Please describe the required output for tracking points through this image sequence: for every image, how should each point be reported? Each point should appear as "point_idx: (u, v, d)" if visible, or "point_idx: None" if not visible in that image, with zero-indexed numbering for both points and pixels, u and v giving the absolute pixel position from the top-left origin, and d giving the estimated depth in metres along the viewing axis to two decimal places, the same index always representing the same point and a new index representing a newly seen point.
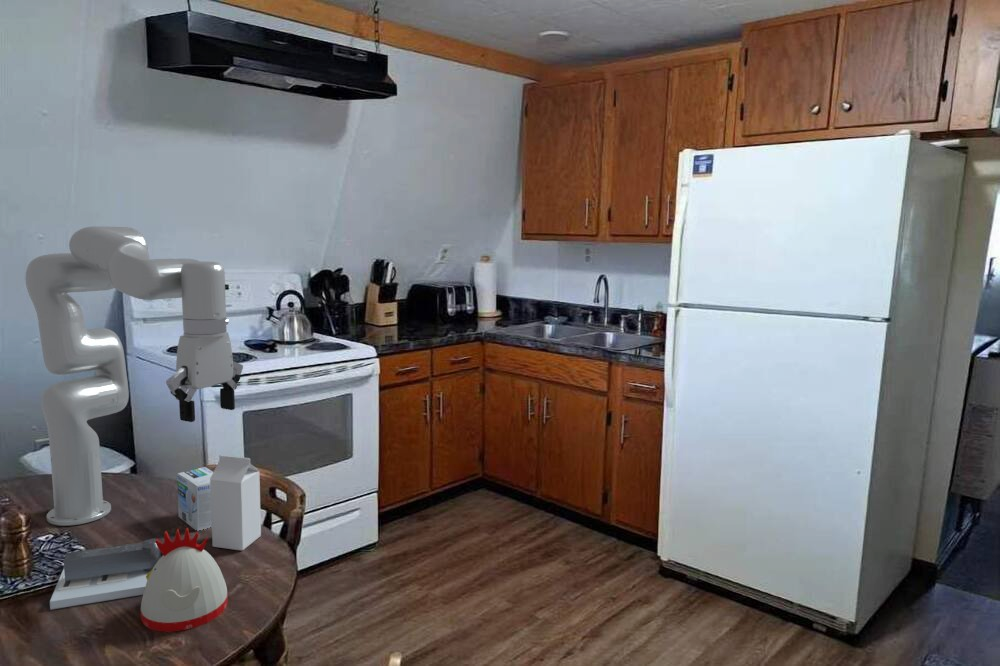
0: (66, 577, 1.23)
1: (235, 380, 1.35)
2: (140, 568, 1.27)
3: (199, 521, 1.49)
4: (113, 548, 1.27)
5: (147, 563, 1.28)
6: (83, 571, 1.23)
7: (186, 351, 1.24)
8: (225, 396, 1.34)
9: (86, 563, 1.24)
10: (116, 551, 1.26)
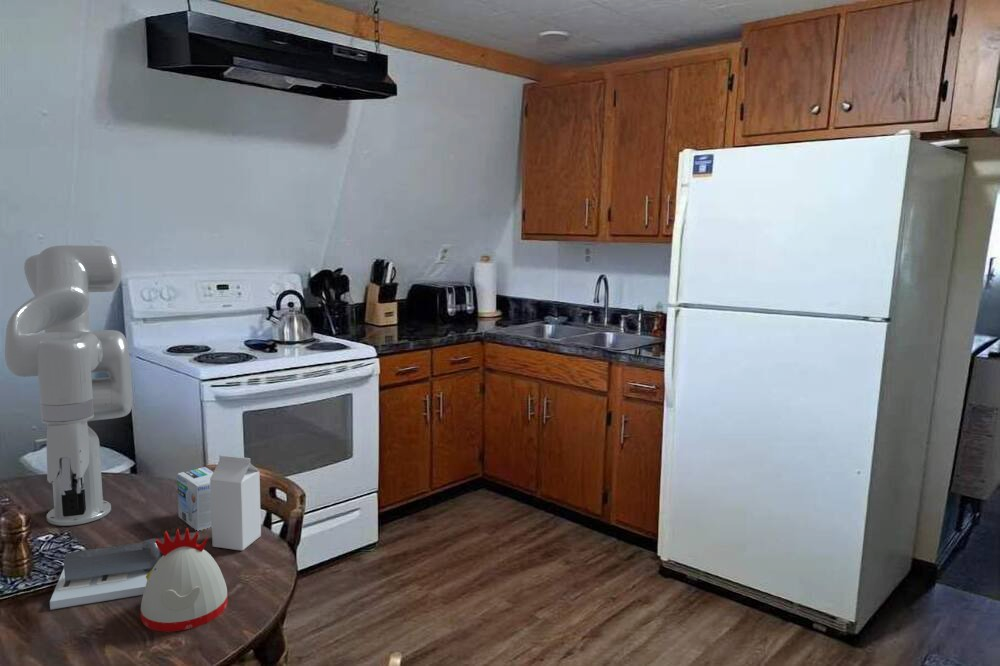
0: (66, 577, 1.23)
1: None
2: (140, 568, 1.27)
3: (199, 521, 1.49)
4: (113, 548, 1.27)
5: (147, 563, 1.28)
6: (83, 571, 1.23)
7: (66, 440, 1.11)
8: None
9: (86, 563, 1.24)
10: (116, 551, 1.26)
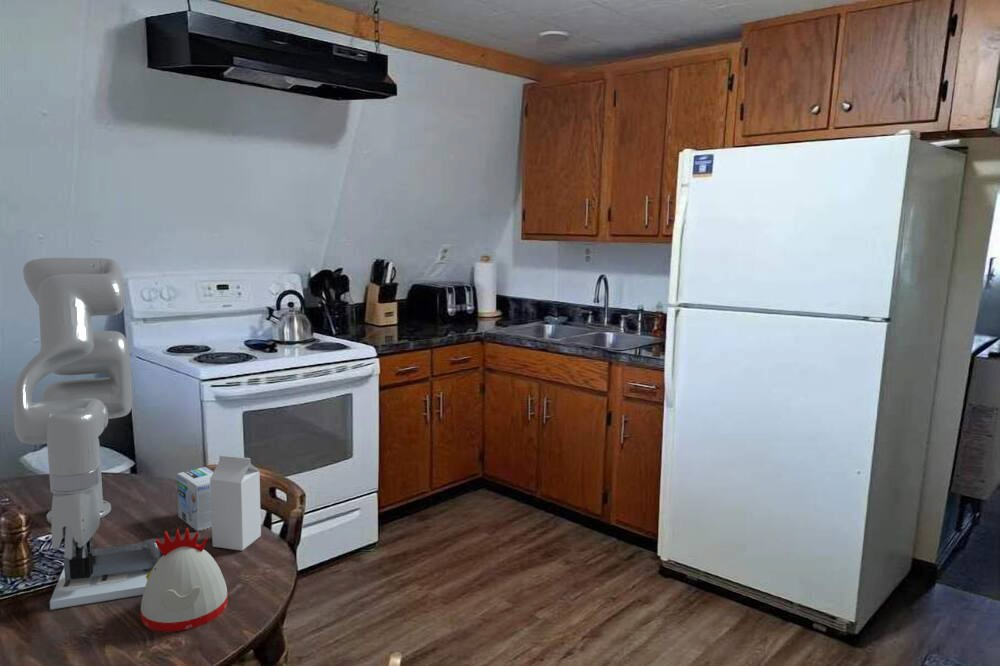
0: (66, 577, 1.23)
1: None
2: (140, 568, 1.27)
3: (199, 521, 1.49)
4: (113, 548, 1.27)
5: (147, 563, 1.28)
6: None
7: (69, 510, 1.15)
8: None
9: None
10: (116, 551, 1.26)
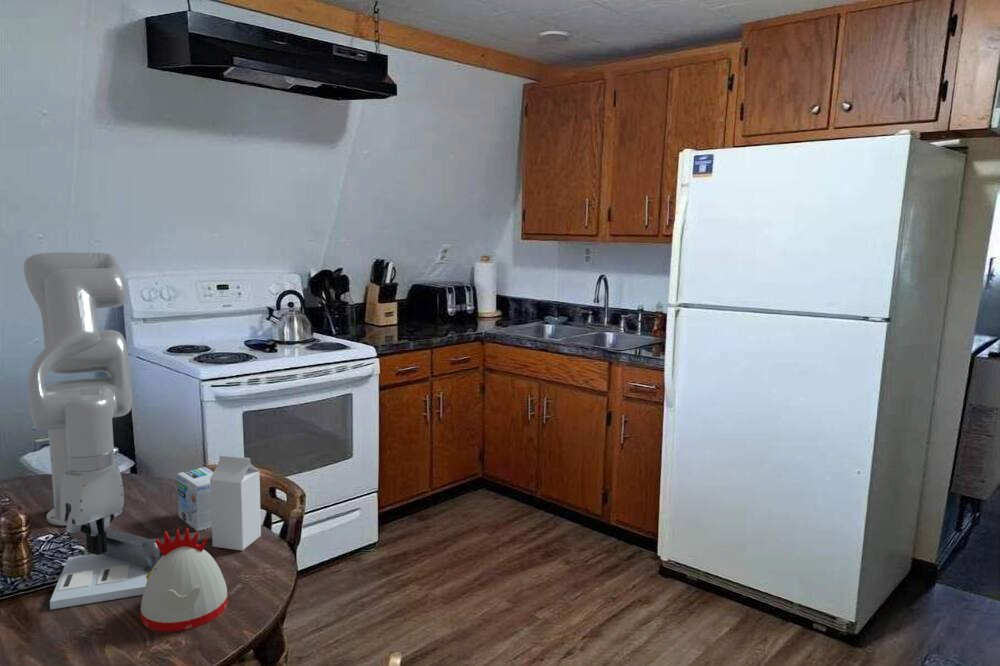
0: None
1: None
2: (138, 564, 1.29)
3: (199, 521, 1.49)
4: (130, 536, 1.32)
5: (142, 562, 1.28)
6: None
7: (69, 489, 1.23)
8: None
9: None
10: (125, 540, 1.30)
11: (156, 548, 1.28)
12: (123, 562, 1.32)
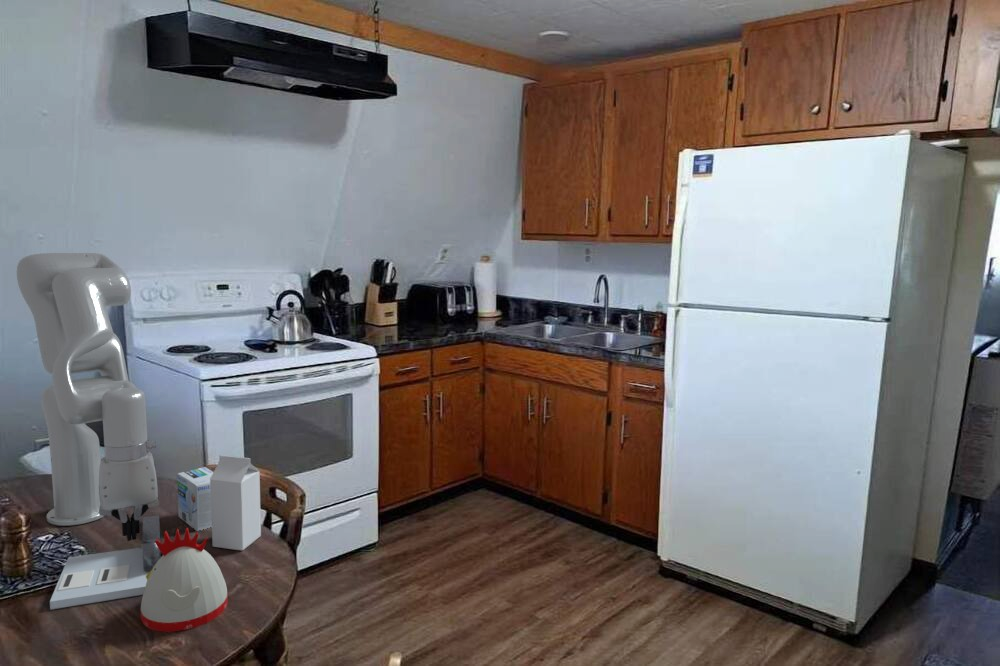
0: None
1: None
2: None
3: (199, 521, 1.49)
4: (154, 530, 1.35)
5: None
6: None
7: (99, 474, 1.32)
8: None
9: None
10: (146, 533, 1.33)
11: (150, 550, 1.27)
12: (123, 562, 1.32)
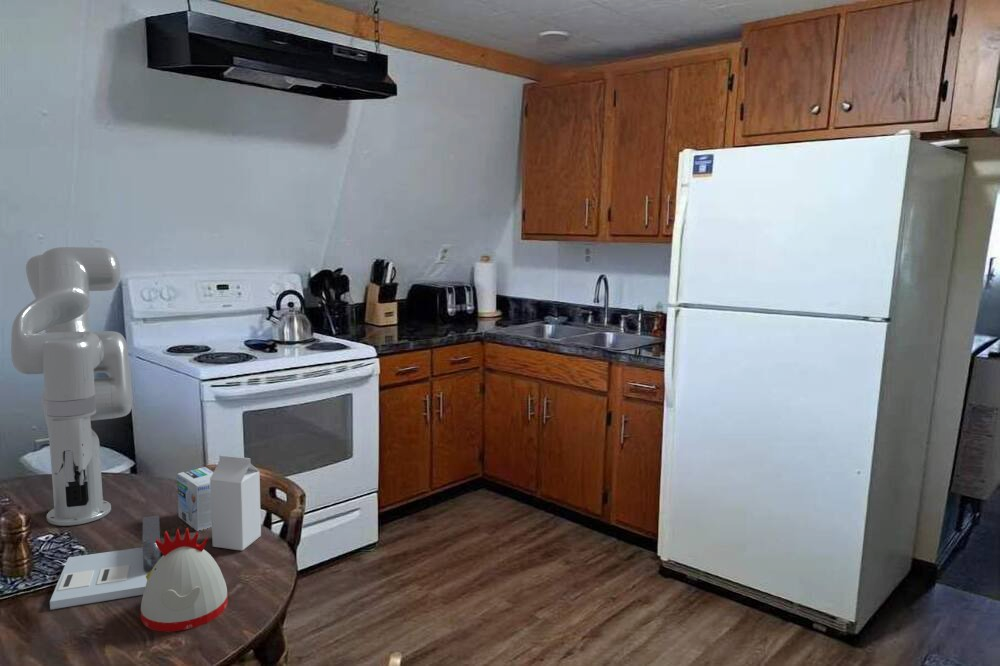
0: None
1: None
2: None
3: (199, 521, 1.49)
4: (154, 530, 1.35)
5: None
6: None
7: (69, 435, 1.17)
8: None
9: None
10: (146, 533, 1.33)
11: (150, 550, 1.27)
12: (123, 562, 1.32)
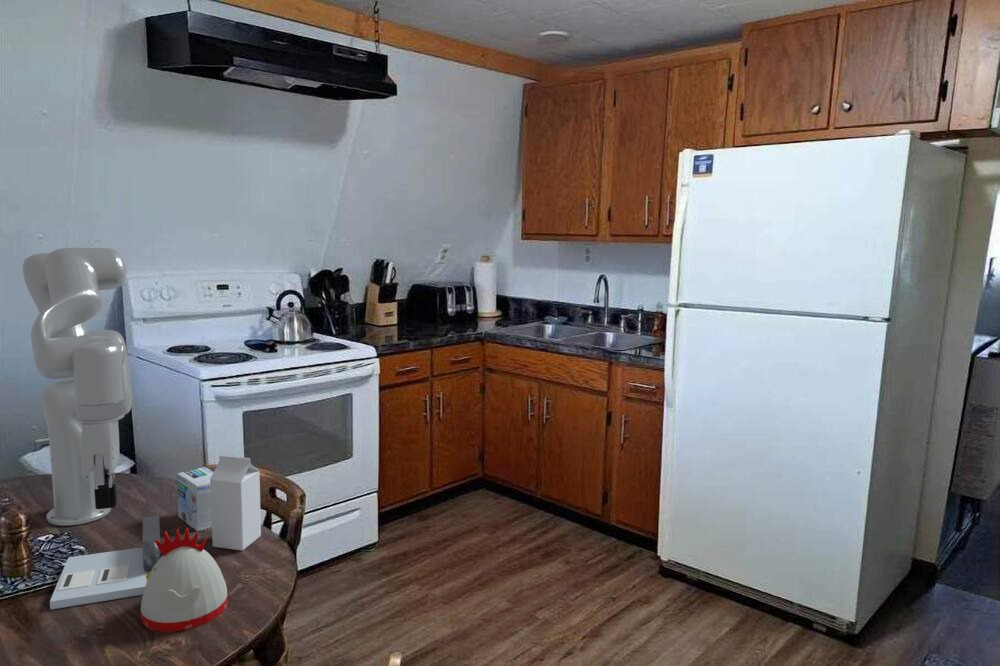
0: None
1: None
2: None
3: (199, 521, 1.49)
4: (154, 530, 1.35)
5: None
6: None
7: (99, 438, 1.18)
8: None
9: None
10: (146, 533, 1.33)
11: (150, 550, 1.27)
12: (123, 562, 1.32)
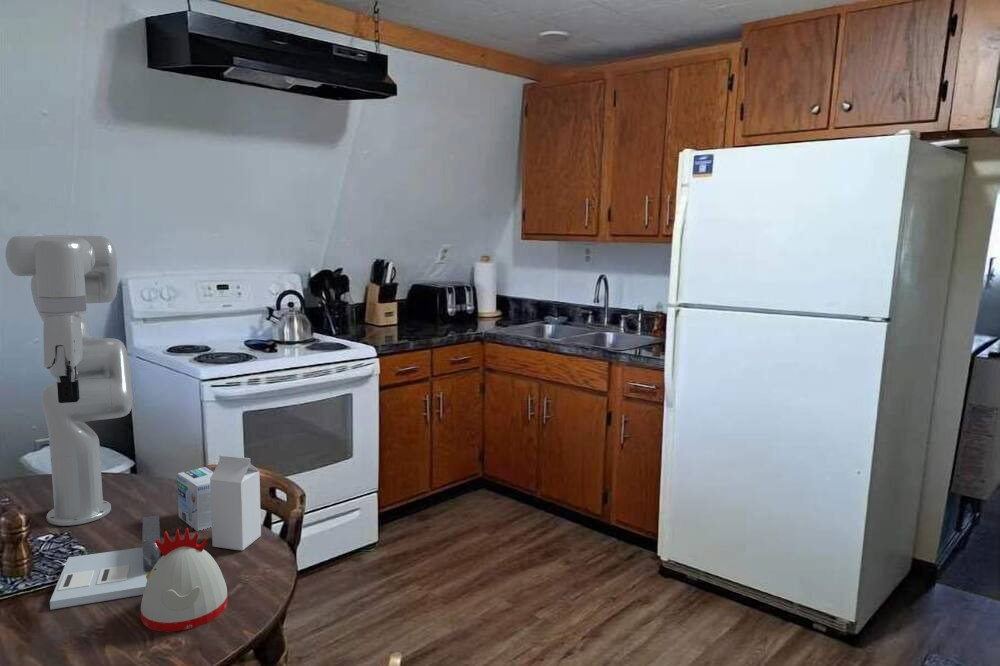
0: None
1: None
2: None
3: (199, 521, 1.49)
4: (154, 530, 1.35)
5: None
6: None
7: (61, 330, 1.22)
8: None
9: None
10: (146, 533, 1.33)
11: (150, 550, 1.27)
12: (123, 562, 1.32)
